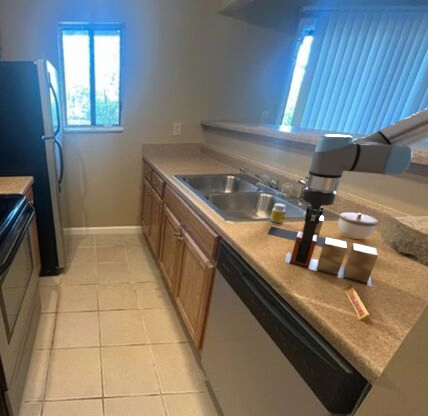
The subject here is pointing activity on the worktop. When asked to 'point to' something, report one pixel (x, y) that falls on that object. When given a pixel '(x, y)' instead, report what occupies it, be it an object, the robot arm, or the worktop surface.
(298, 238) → the block
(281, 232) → the mat
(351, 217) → the trinket box
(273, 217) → the supplement bottle
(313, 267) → the light grey flat rectangle
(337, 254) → the tan upright block
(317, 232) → the O block
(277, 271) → the worktop surface
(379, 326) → the worktop surface
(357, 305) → the chocolate bar
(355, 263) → the block
